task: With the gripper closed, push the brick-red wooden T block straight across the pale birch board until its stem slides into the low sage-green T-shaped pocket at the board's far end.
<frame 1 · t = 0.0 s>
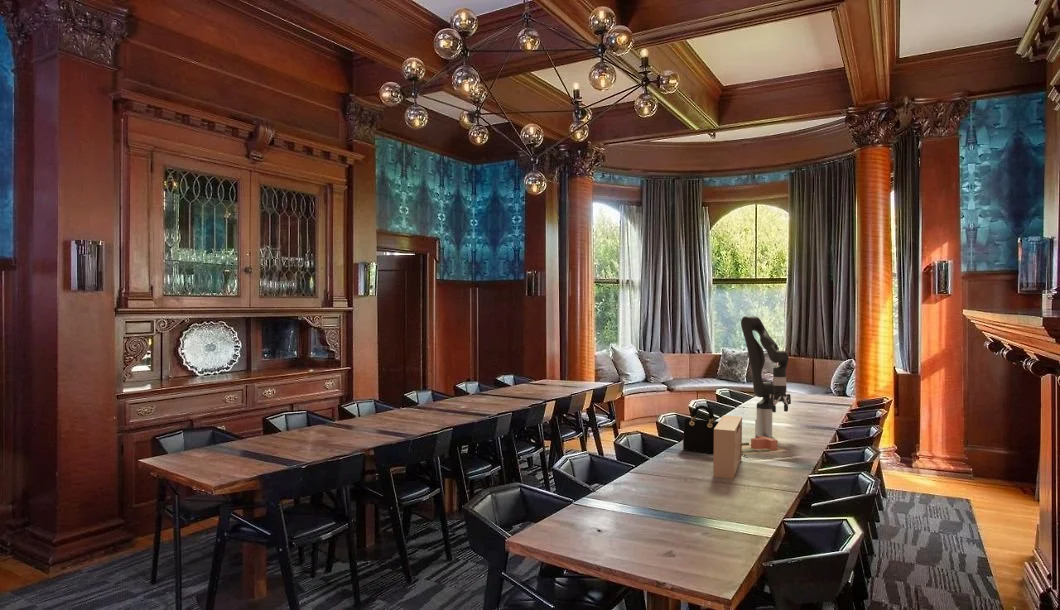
hand: (779, 411, 378), 17 cm above the table, tool pointing down, fingers open, 8 cm apart
box: (728, 468, 315), on the table
t block: (766, 447, 356), point 1 cm above the table, touching board
board: (752, 449, 354), on the table
handbag: (702, 451, 350), on the table
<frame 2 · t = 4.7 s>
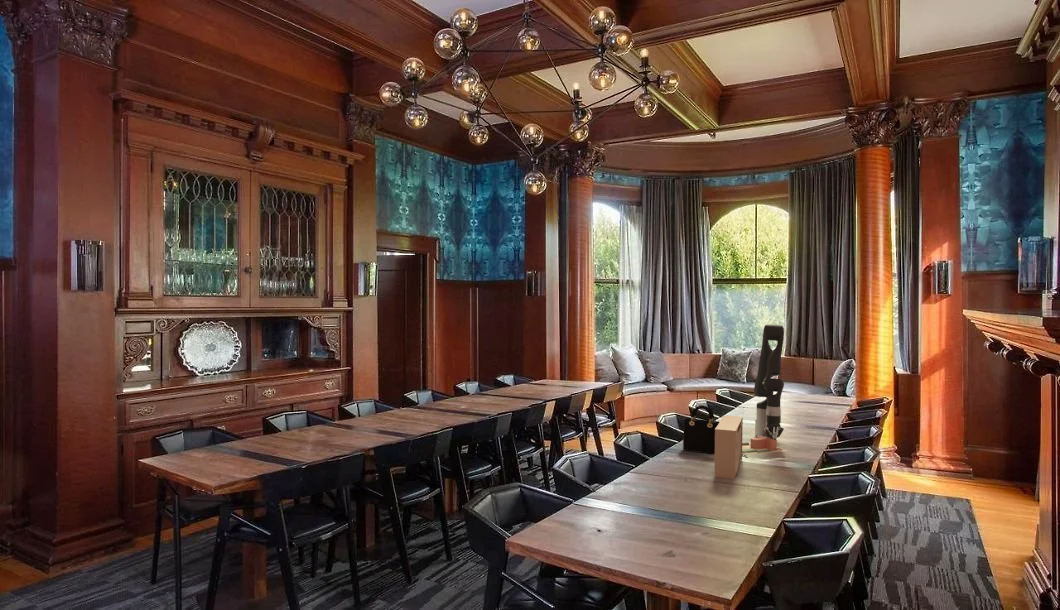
hand: (773, 445, 357), 2 cm above the table, tool pointing down, fingers closed
t block: (766, 447, 356), point 1 cm above the table, touching board, gripper
everything else where it was.
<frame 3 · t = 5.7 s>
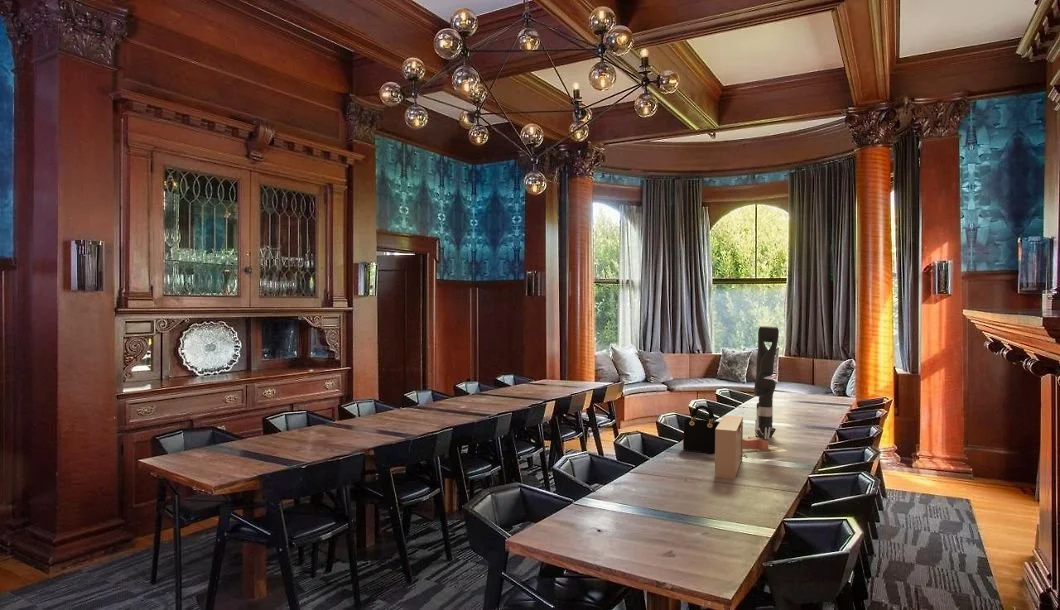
hand: (765, 445, 355), 2 cm above the table, tool pointing down, fingers closed
t block: (757, 447, 354), point 1 cm above the table, touching gripper
everything else where it was.
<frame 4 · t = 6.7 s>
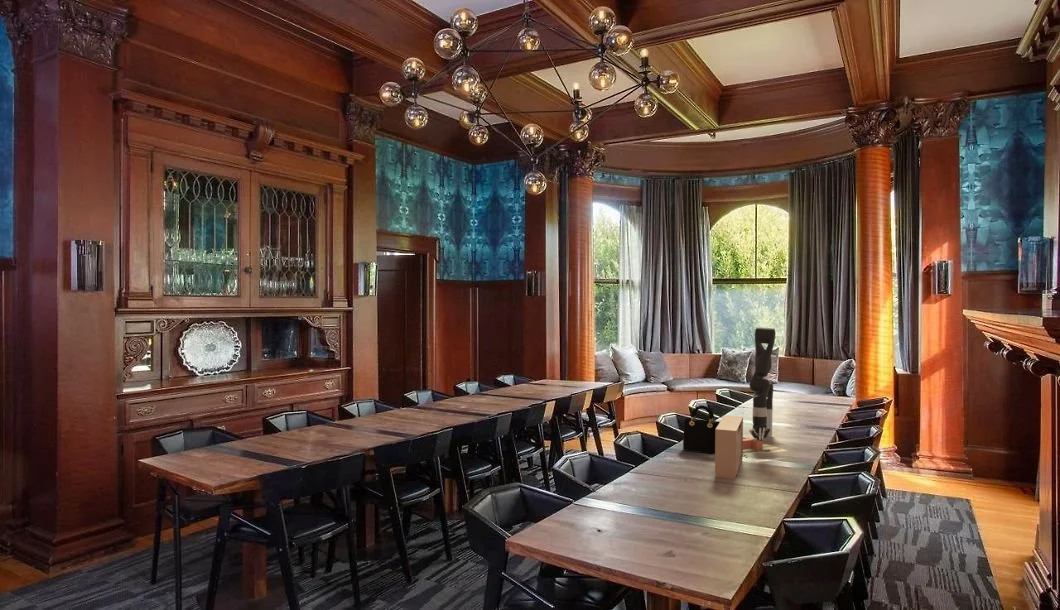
hand: (759, 446, 354), 2 cm above the table, tool pointing down, fingers closed
t block: (752, 448, 353), point 1 cm above the table, touching board, gripper
everything else where it was.
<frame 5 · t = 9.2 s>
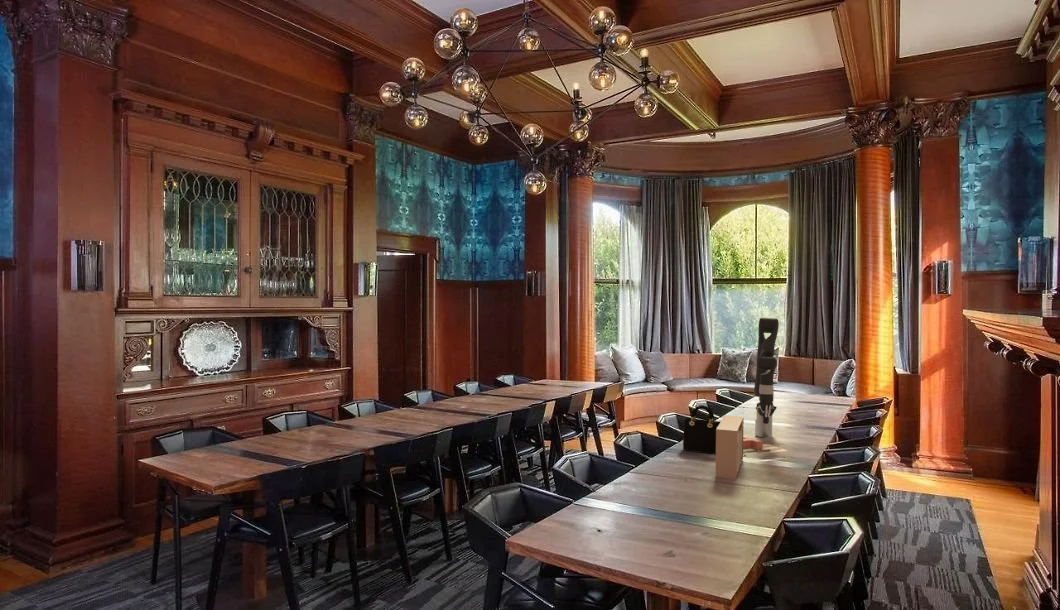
hand: (765, 423, 356), 14 cm above the table, tool pointing down, fingers closed
t block: (752, 448, 353), point 1 cm above the table, touching board
everything else where it was.
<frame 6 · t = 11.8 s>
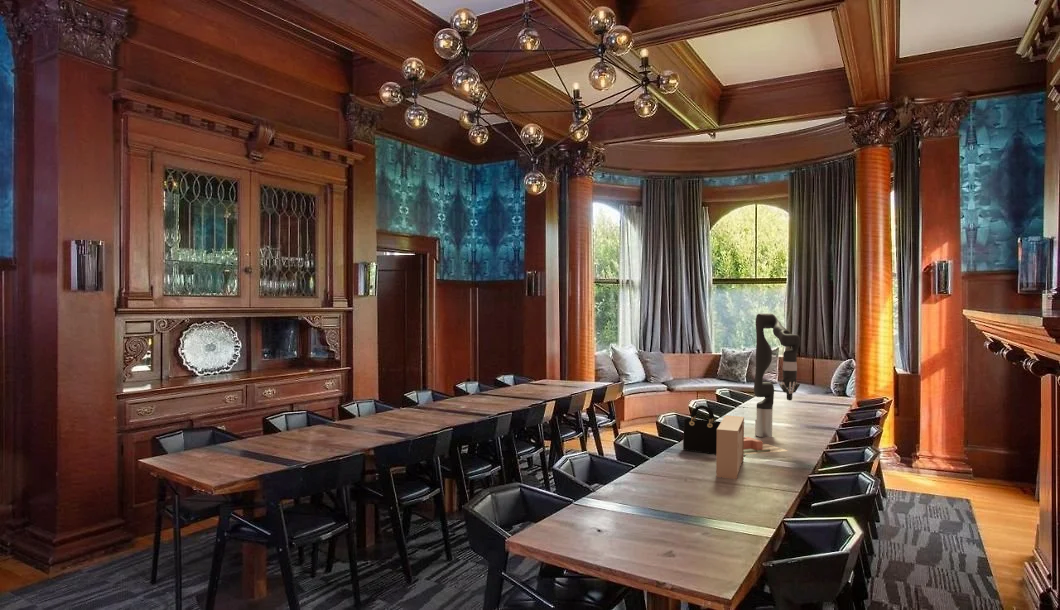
hand: (789, 400, 360), 27 cm above the table, tool pointing down, fingers closed
at the end: t block inside the target area (0.4 cm from its centre), point 1.2 cm above the table; t block tilted 0° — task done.
